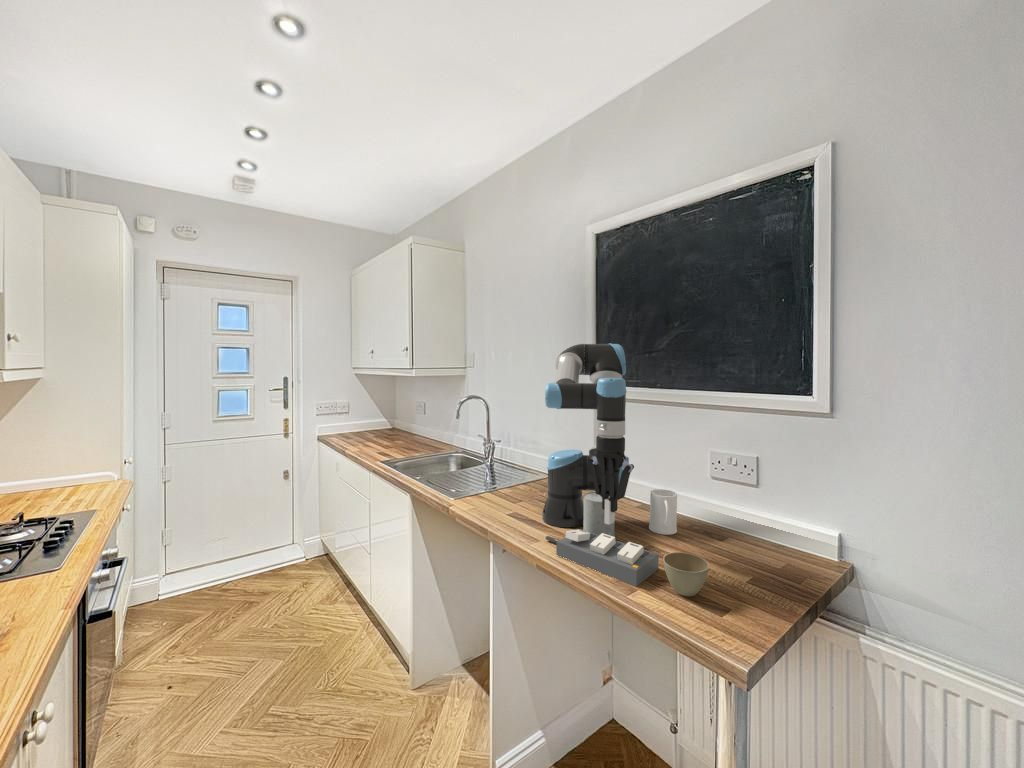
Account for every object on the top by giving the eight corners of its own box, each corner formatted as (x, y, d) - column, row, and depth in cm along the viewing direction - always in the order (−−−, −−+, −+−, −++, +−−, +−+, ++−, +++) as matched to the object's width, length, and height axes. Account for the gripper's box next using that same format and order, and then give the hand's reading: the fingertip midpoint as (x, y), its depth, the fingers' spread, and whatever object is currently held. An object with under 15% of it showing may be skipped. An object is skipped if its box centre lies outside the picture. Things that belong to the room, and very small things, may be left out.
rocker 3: (617, 559, 110) (617, 553, 109) (629, 547, 114) (628, 541, 113) (632, 564, 107) (631, 558, 107) (643, 552, 111) (643, 545, 111)
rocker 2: (590, 550, 115) (589, 543, 115) (602, 539, 119) (602, 532, 119) (603, 554, 112) (603, 548, 112) (615, 543, 117) (615, 536, 116)
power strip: (532, 546, 127) (532, 532, 127) (558, 534, 136) (558, 521, 135) (636, 586, 104) (636, 569, 104) (658, 569, 113) (658, 553, 113)
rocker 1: (565, 537, 120) (566, 530, 120) (577, 535, 125) (578, 529, 125) (577, 541, 118) (578, 534, 118) (589, 539, 122) (590, 532, 122)
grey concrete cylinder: (616, 532, 138) (616, 493, 137) (612, 544, 129) (613, 503, 128) (585, 528, 141) (586, 490, 140) (580, 539, 132) (580, 499, 131)
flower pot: (655, 581, 107) (656, 552, 107) (694, 579, 108) (695, 551, 108) (674, 603, 97) (674, 572, 97) (717, 601, 98) (717, 570, 98)
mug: (679, 540, 131) (680, 501, 131) (650, 537, 134) (650, 498, 133) (675, 526, 143) (676, 489, 142) (648, 523, 145) (649, 487, 144)
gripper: (582, 434, 118) (581, 520, 119) (625, 440, 109) (624, 533, 110) (597, 431, 124) (596, 513, 125) (640, 436, 115) (638, 525, 116)
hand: (609, 522), depth 118 cm, fingers closed
